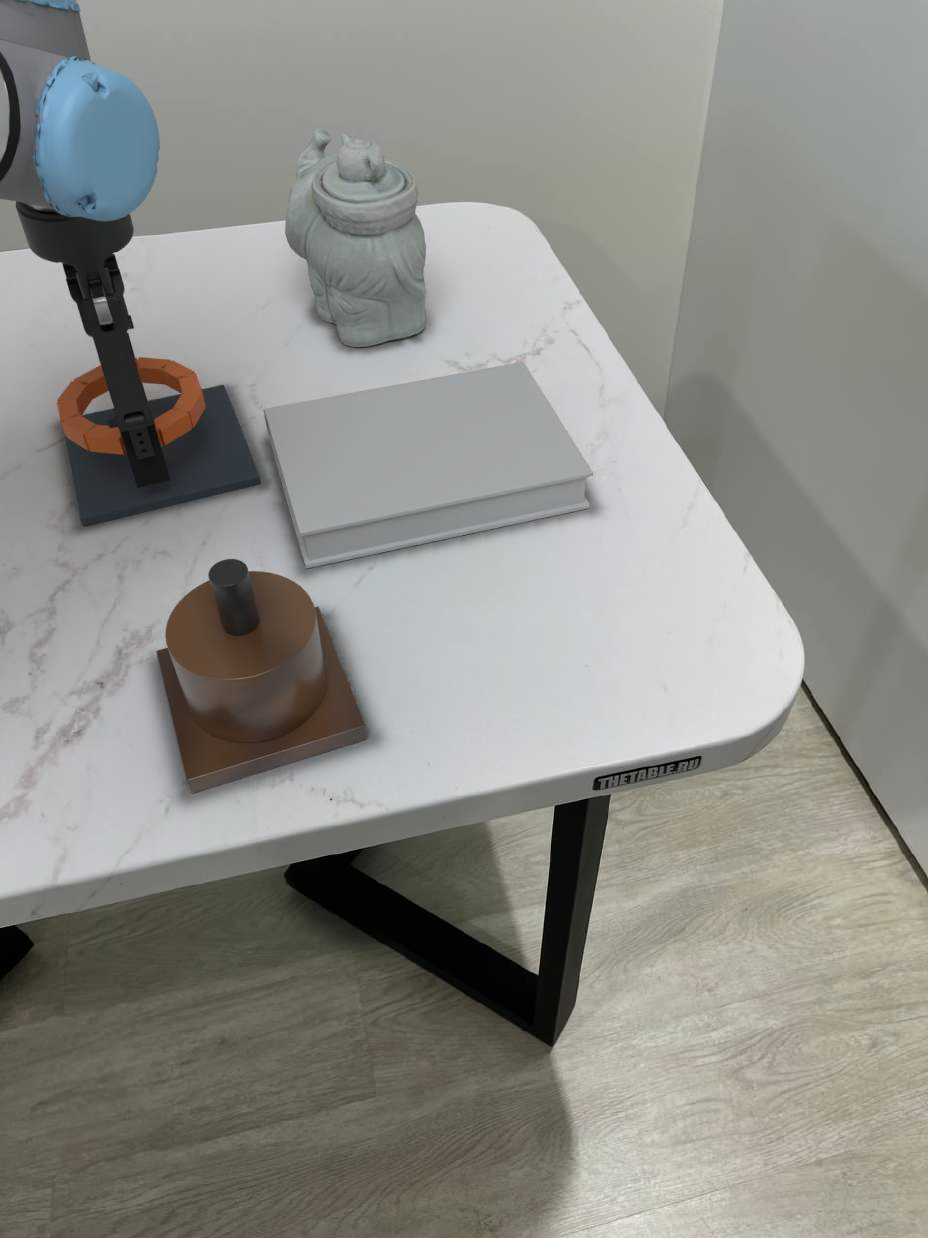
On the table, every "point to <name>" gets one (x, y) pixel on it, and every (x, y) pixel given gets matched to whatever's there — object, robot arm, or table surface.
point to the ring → (150, 372)
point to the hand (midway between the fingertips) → (142, 440)
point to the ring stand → (252, 677)
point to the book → (423, 462)
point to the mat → (193, 462)
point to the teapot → (359, 240)
